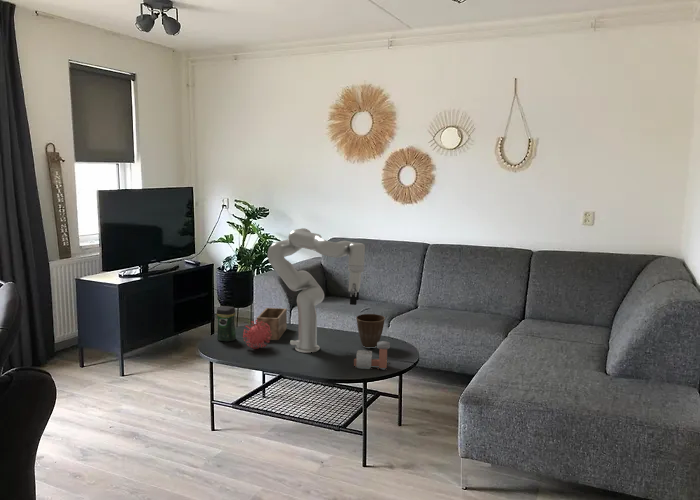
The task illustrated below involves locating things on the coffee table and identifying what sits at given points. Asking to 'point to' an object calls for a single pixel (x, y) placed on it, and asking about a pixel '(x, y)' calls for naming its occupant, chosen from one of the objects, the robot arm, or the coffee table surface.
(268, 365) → the coffee table surface
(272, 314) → the wooden crate
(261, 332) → the virus model
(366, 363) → the block
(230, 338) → the coffee jar
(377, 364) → the brown mallet
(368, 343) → the plant pot
